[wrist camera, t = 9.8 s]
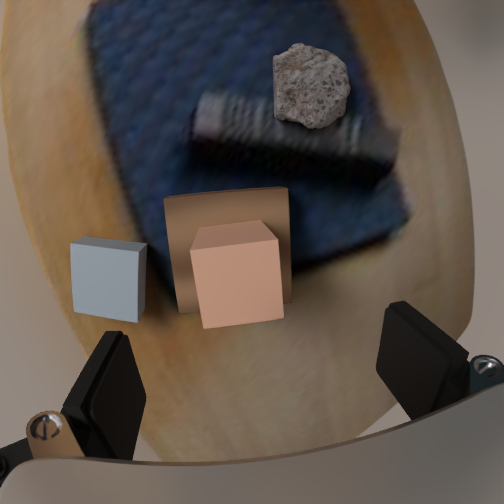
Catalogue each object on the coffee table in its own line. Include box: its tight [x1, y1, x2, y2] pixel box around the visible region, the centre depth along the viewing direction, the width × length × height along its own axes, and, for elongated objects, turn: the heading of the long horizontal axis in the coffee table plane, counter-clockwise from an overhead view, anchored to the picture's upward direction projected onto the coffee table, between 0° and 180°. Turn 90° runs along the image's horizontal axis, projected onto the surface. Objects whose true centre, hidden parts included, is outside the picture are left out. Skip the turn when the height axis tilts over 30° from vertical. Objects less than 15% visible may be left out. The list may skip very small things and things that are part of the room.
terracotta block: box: [190, 220, 284, 329], centre depth 25 cm, size 6×6×9 cm
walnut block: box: [164, 187, 292, 313], centre depth 32 cm, size 12×12×4 cm
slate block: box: [71, 236, 147, 323], centre depth 31 cm, size 8×8×4 cm
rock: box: [273, 43, 351, 129], centre depth 28 cm, size 9×11×4 cm
